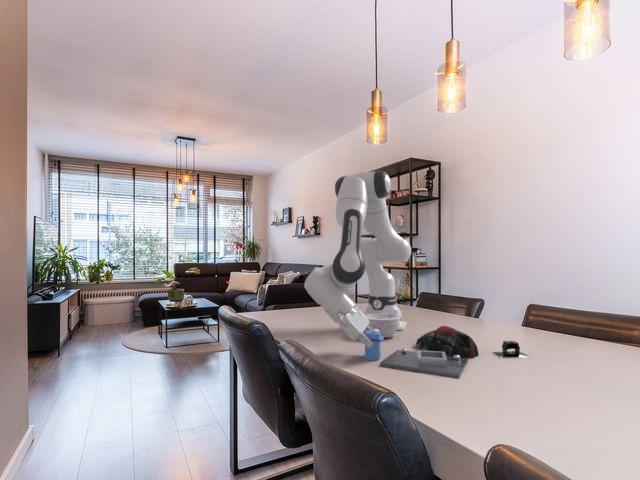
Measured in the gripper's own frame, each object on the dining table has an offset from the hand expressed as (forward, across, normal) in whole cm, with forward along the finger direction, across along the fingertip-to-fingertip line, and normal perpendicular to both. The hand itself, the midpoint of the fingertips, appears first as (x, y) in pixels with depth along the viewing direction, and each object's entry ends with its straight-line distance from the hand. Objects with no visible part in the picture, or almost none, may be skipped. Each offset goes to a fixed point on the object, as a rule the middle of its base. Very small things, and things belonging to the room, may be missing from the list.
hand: (373, 342), depth 118 cm
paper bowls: (+3, +31, +4) cm, 32 cm away
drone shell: (+20, +16, -12) cm, 28 cm away
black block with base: (+34, +13, -26) cm, 45 cm away
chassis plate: (+14, -3, -8) cm, 17 cm away
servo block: (+3, 0, +4) cm, 5 cm away
